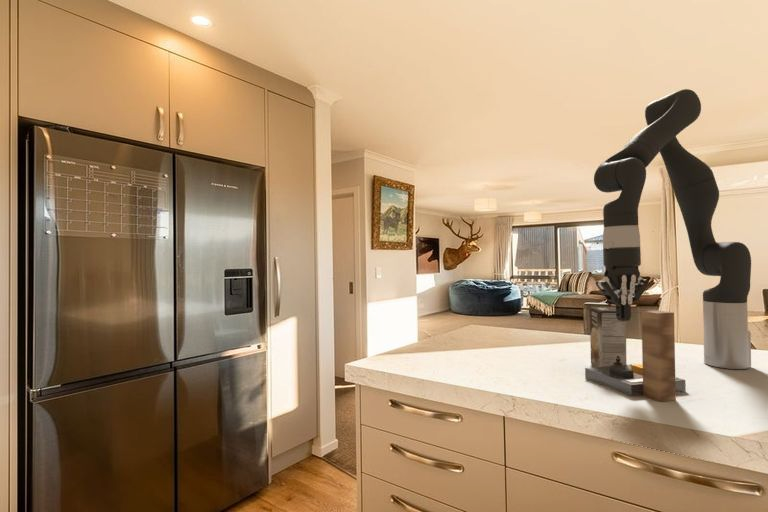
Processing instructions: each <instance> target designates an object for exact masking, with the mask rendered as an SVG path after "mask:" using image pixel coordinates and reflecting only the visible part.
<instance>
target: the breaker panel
mask: <svg viewBox="0 0 768 512" xmlns="http://www.w3.org/2000/svg"><path fill="white" fill-rule="evenodd" d="M584 375H585V377H584V378H585V379H587V380H588V381H592V382H594V383H596V384H599V385H601V386H604V387H607V388H609V389H611V390H613V391H616V392H618V393H621V394H623V395H626V396H629V397H632V398H633V397H643V364H640V363H630V364H626V365H617V366H605V367H593V366H592V367H585V368H584ZM675 385H676V393H683V392H684V393H685V392H686V391H687V390H686V389H687V388H686V379H684V378H680V377H676V376H675Z"/></svg>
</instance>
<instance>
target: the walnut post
mask: <svg viewBox="0 0 768 512" xmlns="http://www.w3.org/2000/svg"><path fill="white" fill-rule="evenodd" d="M675 341H676V340H675V312H673V311H672V312H671V311H665V310H659V309H658V310H657V309H656V310H653V309H652V310H641V348H642V349H641V352H642V356H641V357H642V358H641V359H642V365H643V396H644V397H646V398H648V399H650V400H654V401H655V402H656V401H657V402H659V403H660V402H661V403H662V402H673V401H677V400H676V399H677V397H676V395H677V394H676V393H677V392H676V385H675V377H676V351H675V350H676V347H675V346H676V343H675ZM643 396H642V397H643Z"/></svg>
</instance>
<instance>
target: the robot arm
mask: <svg viewBox="0 0 768 512" xmlns="http://www.w3.org/2000/svg"><path fill="white" fill-rule="evenodd" d="M645 107H646V108H645V110H644V117H645V122H646V125H647V126H646V127H644V128H643V129H641V130H640V131H639V132H638V133H636V134H635V135H634V136H632V138H630V139H629V141H628V142H627V143H626V144H625V145H624V146H623V148H622V149H621V150H619V151H617V152H616V153H614V154H613V155H611V156H610V157H608V158H607V159H605V160H604V161H603V162H601V163H600V164H599V165H598V167H597V168H596V170H595V172H594V175H593V183H594V186H595V187H596V189H597V190H599V191H600V192H602V193H607V194H608V193H609V194H610V193H614V192H620V194H619V196H618V198H616V199H614V200H612V201H610V202H607V203H606V204H604V206H603V210H602V215H603V233H602V251H603V252H602V254H603V255H602V256H603V263H602V264H603V266H604V267H605V271H604V273H603V276H604V277H603V278H601V280H596V282H595V285H596V287H597V288H598V290H599V291H600V292H601V294H602V295H603V296H604V298H605V299H606V300H607V302H610V303H614V305H615V308H616V317H617V319H618V320H620V321H626V322H628V321H630V320H631V316H632V304H633V303H634V302H635V303H636V302H639V300H640V299H641V297H642V295H643V293H644V292H645V291H646V289H647V287H648V285H649V284H650V280H648V279H644V278H643V277H642V276H641V272H640V269H639V266H641V265H642V261H641V260H642V259H641V253H642V252H641V234H640V233H641V232H640V228H639V207H640V206H639V204H640V201H641V197H642V193H643V190H644V187H645V183H646V179H647V169H646V168H647V167H648V166H650V164H651V163H652V161H653V160H654V159H655V158H656V157H657V155H658V154H660V156H661V159H662V161H663V162H664V166H665V169H666V172H667V175H668V177H669V181H670V184H671V188H672V190H673V191H672V192H673V193H674V196H675V199H676V201H677V203H678V207H679V209H680V212H681V215H682V216H681V217H682V219H683V222H684V225H685V228H686V233H687V236H688V240H689V241H688V242H689V246H690V250H691V255H692V259H693V262H694V265H695V267H696V269H697V271H699V273H701V275H704V276H712V277H720V278H719V282H718V283H717V285H715V286H714V287H711V288H708V289H705V290H703V292H702V317H703V319H702V321H703V323H702V324H703V326H702V329H703V363H704V364H706V365H709V366H711V367H716V368H722V369H727V370H729V369H731V370H747V369H749V368H751V367H752V346H751V345H752V344H751V343H752V342H751V341H752V339H751V331H750V330H749V318H748V314H749V313H748V297H749V293H750V290H751V276H752V275H751V274H752V257H751V256H752V255H751V253H750V252H751V251H750V250H749V248H748V247H747V245H745V244H744V243H743V242H739V241H726V242H725V241H722V242H717V241H716V239H715V236H714V233H713V232H714V231H713V229H712V220H713V217H714V214H715V211H716V209H717V206H718V203H719V199H720V190H719V187H718V184H717V181H716V178H715V174H714V172H713V170H712V168H711V167H710V166H709V165H708V164H707V163H705V162H704V161H703V160H701V159H700V158H698V157H697V156H695V155H694V154H693V153H691V152H690V151H688V150H687V149H686V148H685V147H684V146H683V145H682V144H681V143H680V141H679V139H678V138H677V136H678V135H679V134H680V133H681V132H682V131H684V130H685V129H686V128H688V127H689V126H691V124H693V123H695V122H696V120H698V118H699V117H700V115H701V111H702V102H701V100H700V97H699V95H698V94H697V93H696V92H695V91H694V90H692V89H688V88H685V89H680V90H677V91H676V90H675V92H671V93H670V94H668V95H665V96H662V97H661V98H657V99H656V100H653V101H651V102H650V103H649V104H647V106H645Z"/></svg>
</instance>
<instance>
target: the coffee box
mask: <svg viewBox="0 0 768 512" xmlns="http://www.w3.org/2000/svg"><path fill="white" fill-rule="evenodd" d="M589 326H590V327H589V328H590V329H589V331H590V332H589V336H590V338H589V339H590V340H589V341H590V365H591V366H592V367H605V366H617V365H627V321H620V320H618V319H617V317H616V306H590V307H589Z"/></svg>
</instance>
